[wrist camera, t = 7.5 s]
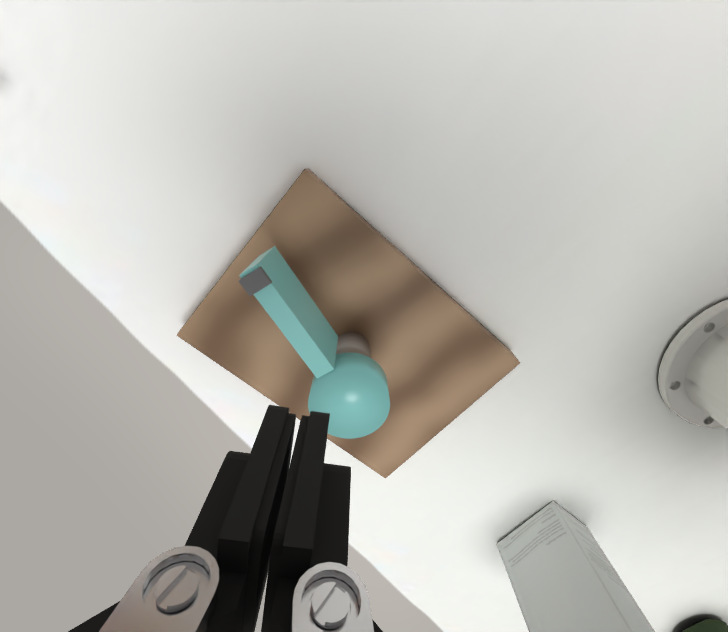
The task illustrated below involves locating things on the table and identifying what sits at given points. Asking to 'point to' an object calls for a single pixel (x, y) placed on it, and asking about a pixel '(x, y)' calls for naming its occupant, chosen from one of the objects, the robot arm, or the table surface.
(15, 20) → the table surface
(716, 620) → the character mug
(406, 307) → the post block
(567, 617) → the skincare box
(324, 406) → the teal lever handle
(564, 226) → the table surface
